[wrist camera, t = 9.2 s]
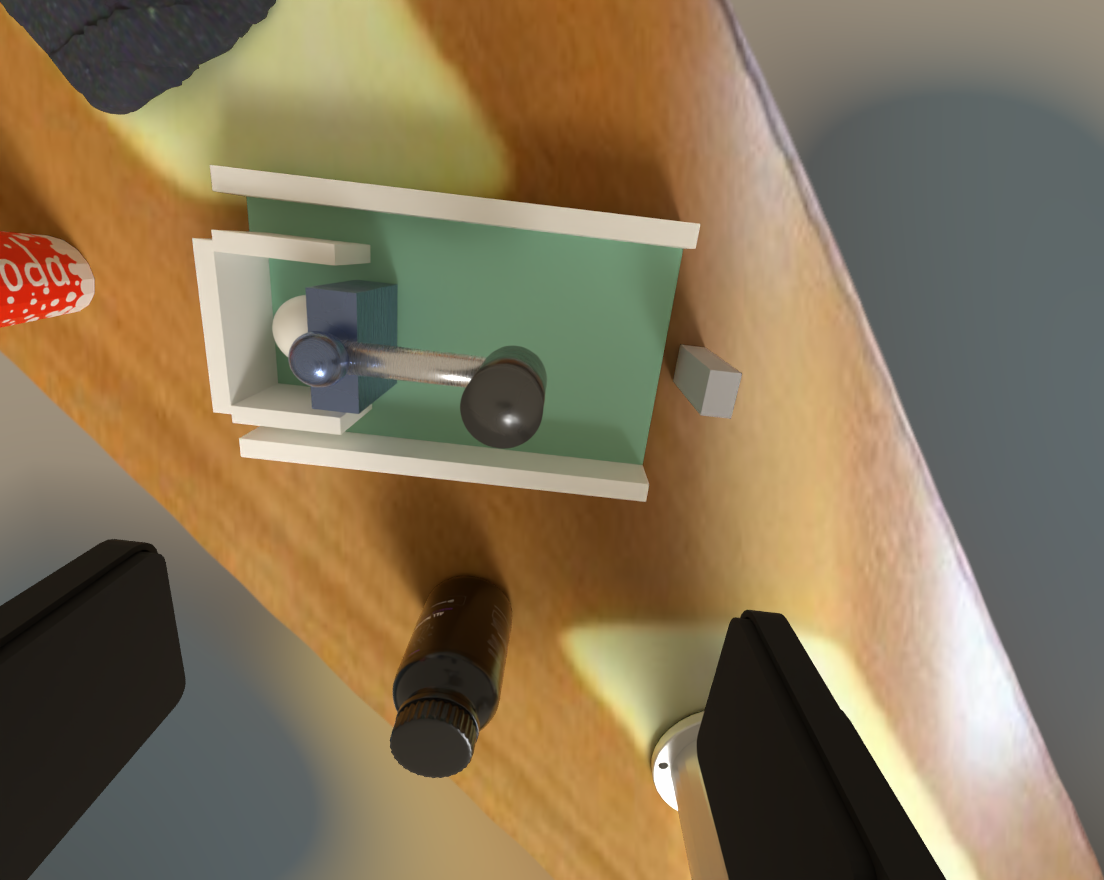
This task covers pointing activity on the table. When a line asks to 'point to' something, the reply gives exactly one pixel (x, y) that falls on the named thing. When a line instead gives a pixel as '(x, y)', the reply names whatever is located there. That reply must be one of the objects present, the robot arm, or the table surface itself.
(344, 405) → the table football player
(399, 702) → the supplement bottle
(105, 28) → the dark slate chunk
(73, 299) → the beverage cup
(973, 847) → the table surface
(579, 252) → the pitch
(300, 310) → the ball
